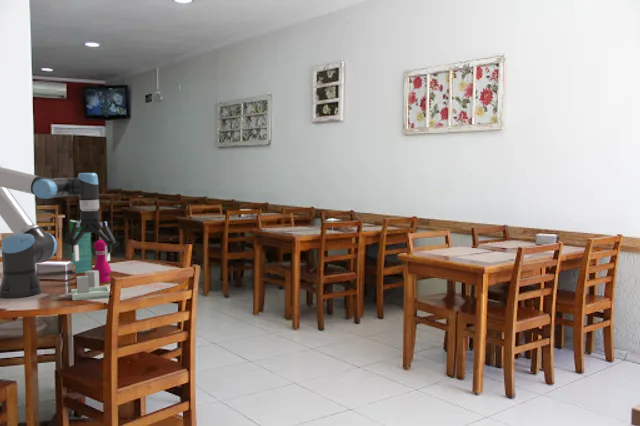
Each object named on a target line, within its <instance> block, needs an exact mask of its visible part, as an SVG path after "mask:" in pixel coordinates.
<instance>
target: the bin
mask: <svg viewBox="0 0 640 426" xmlns="http://www.w3.org/2000/svg"><path fill="white" fill-rule="evenodd" d="M110 290H111V288H110V286H109V285H107V286H99V287H92V288H89V293H82V294H77V288H72V289H71V290H70V292H71V300H72V301H82V300H94V299H105V298H110V297H109V292H110Z"/></svg>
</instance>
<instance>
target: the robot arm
mask: <svg viewBox="0 0 640 426" xmlns="http://www.w3.org/2000/svg"><path fill="white" fill-rule="evenodd" d="M77 175H78V176H77V177H55V178H49V177H48V178H47V177H44V176H39V175H35V174H31V173H26V172H22V171H18V170H14V169H11V168H6V167H2V166H0V217H1V218H2V220H3V222H5V224H6V225H7V227H8V228H9V230H10V231H11V232H12V233H13V234H12V235H11V234H10V235H8V236H5V237H4V238H3V239H2V240H1V247H0V248H1V249H0V250H1V259H2V260H1V261H2V279H1V282H0V296H1V298H7V299H9V298H24V297H25V298H26V297H31V296H36V295H39V294H41V293H42V286H41V283H40V281H39V278H38V276H37V272H36V270H37V269H36V264H39V263H41V262H46V261H47V260H49V259H51V258H53V257H54V256H55V254H56V252H57V248H58V242H57V239H56V238H55V236H54V235H53V234H51V233H49V232H45V230H43V228H42V227H41V225H40V224H39V225H38V224H35V223H34V222H33V221H32V219H31V218H30V216H28V214H27V212H26V211H25V210H24V208H23V207H22V206H21V205H20V203H19V202H18V200H17V199H16V198H15V196H14V195H13V193H12V192H11V191H10V190H12V191H18V192H22V193H25V194H26V193H27V194H31V195H34V196H36V197H37V198H38V199H44V200H46V199H49V200H50V199H55V198H61V197H79V210H80V212H79V215H80V216H79V218H80V219H79V220H81V222H74V223H73V229H72V231H71V233H70V232H69V233H70V234H69V235H68V238H67V241H66V244H67V245H70V247H71V246H72V253H74V261H79V247H78V245H77V243H78V241H79V240H80V239H81V237H82V236H83V235H84V234H85V233H89V232H91V234H92V233H95V234H97V236H98V237H100V238H101V239H102V240H103V241H104V242H105V243H106V244H107V245H106V246H105V258H106V261H108V262H110V261H111V253H112V249H113V245H115V244H116V243H117V241H116V239H115V237H114V235H113V233H112V231H111V229H110V227H109V225H108V224H109V223H108V221H100V220H101V215H100V214H101V213H100V212H101V211H100V197H99V194H100V193H99V178H98V174H97V173H96V172H79V173H78V174H77ZM80 226H81V227H82V229H81V230H80V232H79V234H78V235H77V236H76V238H75V239H74V237H75V235H76V233H77V230H78V228H79V227H80ZM101 228H102V229H103V230H102V229H101ZM103 231H104V232H103Z"/></svg>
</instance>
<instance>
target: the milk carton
mask: <svg viewBox="0 0 640 426" xmlns="http://www.w3.org/2000/svg"><path fill="white" fill-rule="evenodd" d="M74 222H81V219H79V220H74V219H70V220H69V233H71V231H72V229H73V223H74ZM81 229H82V227H81V226H80V227H79V228H78V230H77V233H76V235H75V237H74V239H75V238H76V236H77V235H78V234H79V232H80V230H81ZM77 245H78V247H79V261H74V253H72V246H71V245H70V256H71V257H70V258H71V259H70V261H71V262H73V263H74V264H75V273H74V274H85V272H87V271H89V270H93V257H92V256H93V255H92V254H93V253H92V233H91V232H89V233H85V234H84V235H83V236H82V237H81V239H80V240H79V241H78V243H77Z"/></svg>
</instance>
